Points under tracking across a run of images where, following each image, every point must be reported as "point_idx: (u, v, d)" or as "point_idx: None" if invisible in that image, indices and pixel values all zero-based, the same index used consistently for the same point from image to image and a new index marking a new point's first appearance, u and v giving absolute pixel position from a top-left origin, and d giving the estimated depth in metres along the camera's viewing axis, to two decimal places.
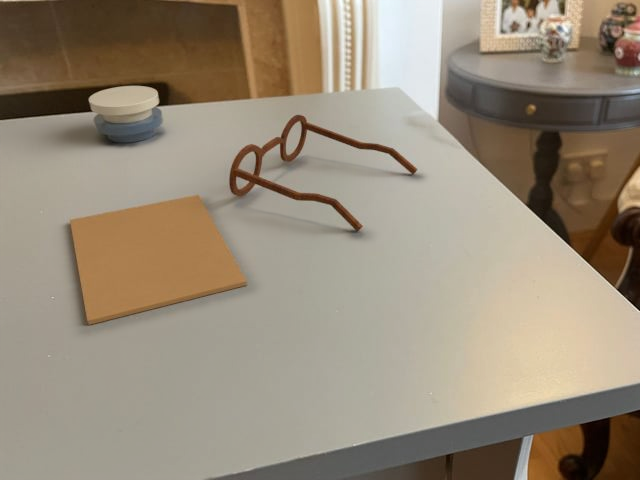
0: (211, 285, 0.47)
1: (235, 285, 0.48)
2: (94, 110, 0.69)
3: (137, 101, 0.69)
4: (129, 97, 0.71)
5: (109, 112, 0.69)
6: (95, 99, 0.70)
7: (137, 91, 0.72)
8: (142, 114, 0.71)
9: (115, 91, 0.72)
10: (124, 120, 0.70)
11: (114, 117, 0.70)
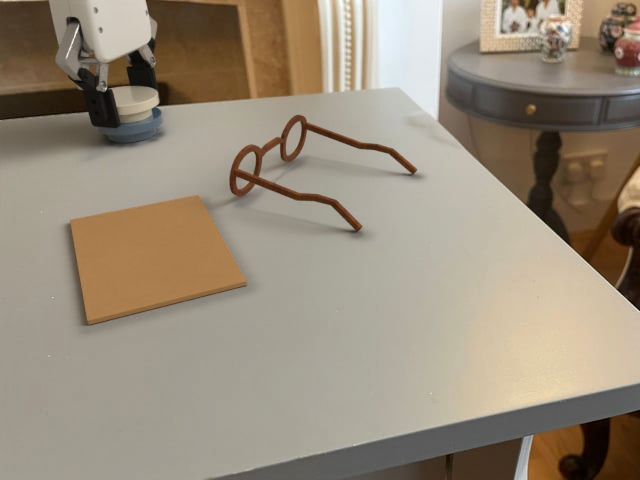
0: (211, 285, 0.47)
1: (235, 285, 0.48)
2: None
3: (137, 101, 0.69)
4: (129, 97, 0.71)
5: None
6: None
7: (137, 91, 0.72)
8: (142, 114, 0.71)
9: (115, 91, 0.72)
10: (124, 120, 0.70)
11: None
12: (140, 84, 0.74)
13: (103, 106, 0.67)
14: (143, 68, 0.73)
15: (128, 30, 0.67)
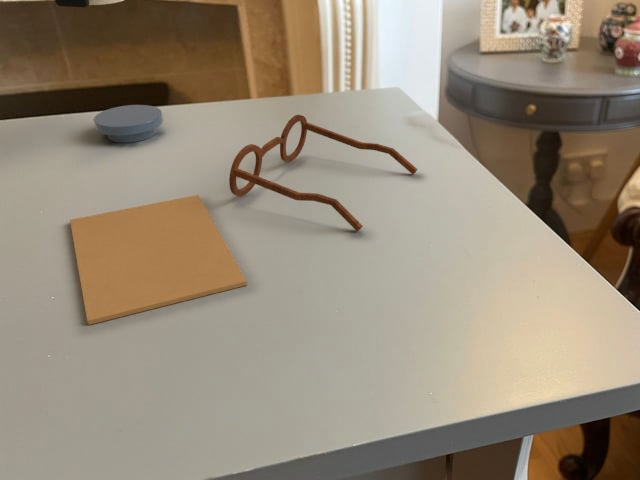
0: (211, 285, 0.47)
1: (235, 285, 0.48)
2: None
3: None
4: None
5: None
6: None
7: None
8: None
9: None
10: (94, 1, 0.62)
11: None
12: None
13: None
14: None
15: None
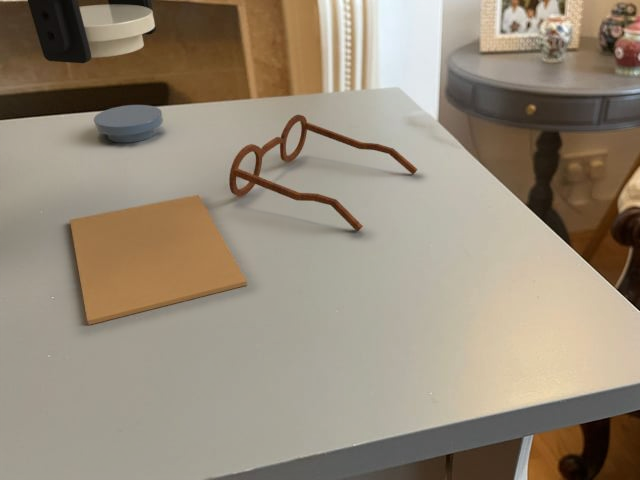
0: (211, 285, 0.47)
1: (235, 285, 0.48)
2: None
3: (120, 20, 0.43)
4: (106, 16, 0.44)
5: None
6: None
7: (120, 10, 0.46)
8: (128, 44, 0.44)
9: (85, 10, 0.46)
10: (98, 52, 0.44)
11: None
12: (125, 2, 0.47)
13: (61, 24, 0.40)
14: None
15: None
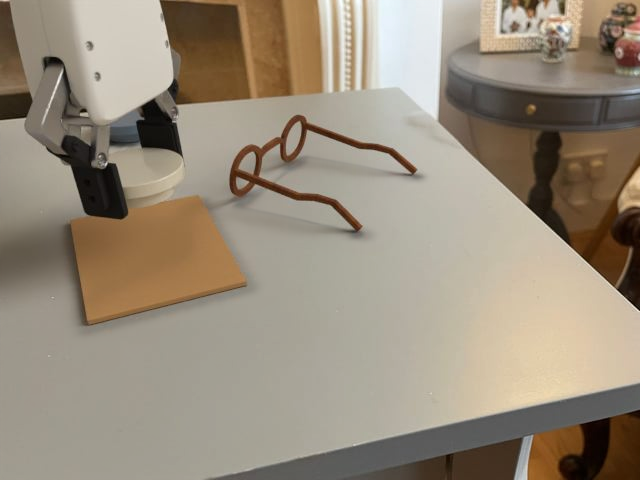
0: (211, 285, 0.47)
1: (235, 285, 0.48)
2: None
3: (154, 177, 0.46)
4: (141, 169, 0.47)
5: None
6: None
7: (153, 158, 0.49)
8: (161, 194, 0.48)
9: (120, 158, 0.49)
10: (134, 204, 0.47)
11: None
12: (156, 146, 0.51)
13: (102, 189, 0.44)
14: (161, 123, 0.50)
15: (140, 73, 0.44)
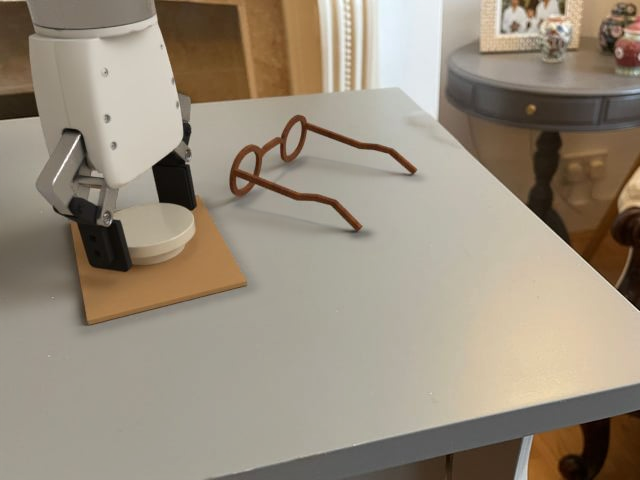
0: (211, 285, 0.47)
1: (235, 285, 0.48)
2: None
3: (167, 236, 0.49)
4: (154, 227, 0.50)
5: None
6: None
7: (165, 214, 0.52)
8: (172, 250, 0.50)
9: (133, 215, 0.52)
10: (147, 261, 0.49)
11: (133, 257, 0.49)
12: (170, 185, 0.54)
13: (107, 244, 0.45)
14: (175, 165, 0.53)
15: (153, 136, 0.46)
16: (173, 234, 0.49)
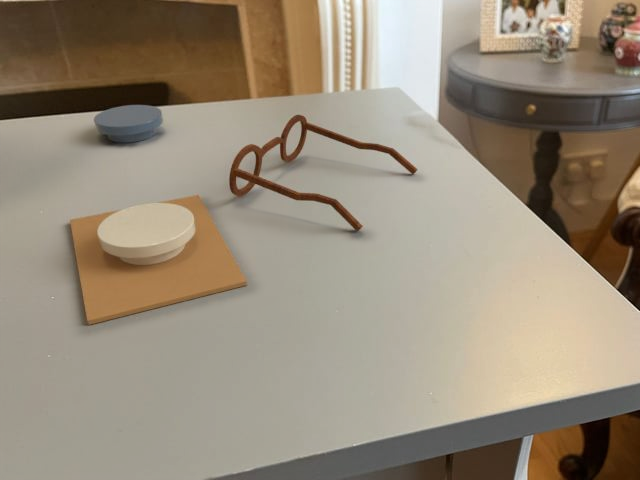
0: (211, 285, 0.47)
1: (235, 285, 0.48)
2: (105, 249, 0.49)
3: (167, 236, 0.49)
4: (154, 227, 0.50)
5: (127, 254, 0.48)
6: (106, 231, 0.49)
7: (165, 214, 0.52)
8: (172, 250, 0.50)
9: (133, 215, 0.52)
10: (147, 261, 0.49)
11: (133, 257, 0.49)
12: None
13: None
14: None
15: None
16: (173, 234, 0.49)
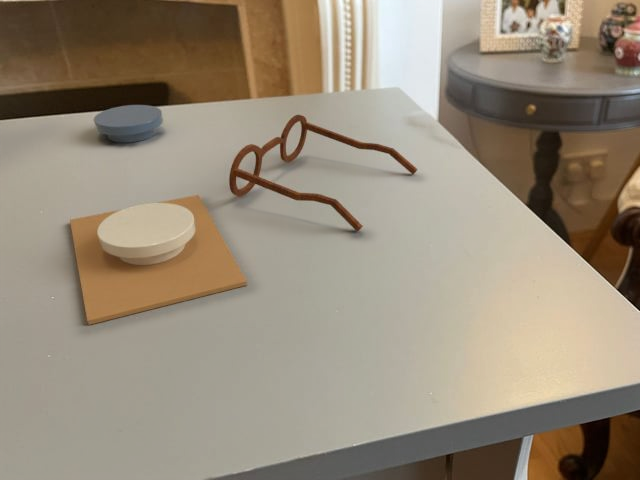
0: (211, 285, 0.47)
1: (235, 285, 0.48)
2: (105, 249, 0.49)
3: (167, 236, 0.49)
4: (154, 227, 0.50)
5: (127, 254, 0.48)
6: (106, 231, 0.49)
7: (165, 214, 0.52)
8: (172, 250, 0.50)
9: (133, 215, 0.52)
10: (147, 261, 0.49)
11: (133, 257, 0.49)
12: None
13: None
14: None
15: None
16: (173, 234, 0.49)
